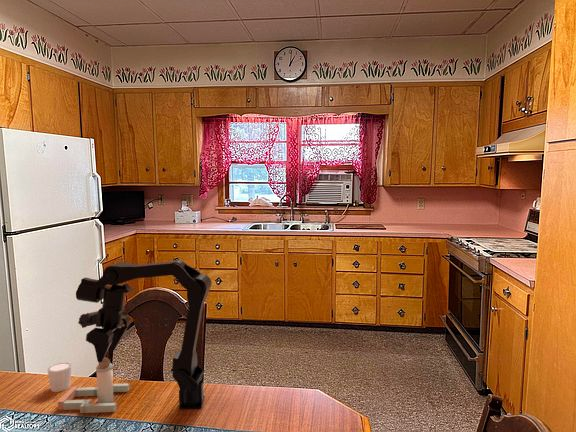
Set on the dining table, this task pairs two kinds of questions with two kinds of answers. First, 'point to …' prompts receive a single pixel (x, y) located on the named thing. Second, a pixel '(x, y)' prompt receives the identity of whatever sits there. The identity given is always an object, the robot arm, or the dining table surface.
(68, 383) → the shot glass
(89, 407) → the rack
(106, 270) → the robot arm
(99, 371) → the pepper mill
